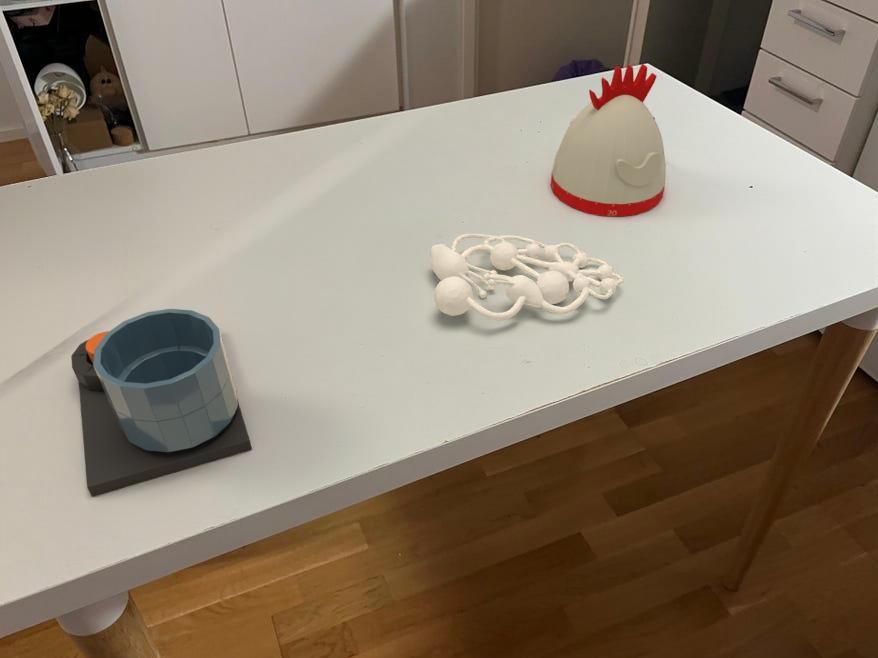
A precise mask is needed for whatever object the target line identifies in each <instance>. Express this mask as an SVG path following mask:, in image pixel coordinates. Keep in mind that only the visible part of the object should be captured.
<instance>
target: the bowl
mask: <svg viewBox="0 0 878 658" xmlns="http://www.w3.org/2000/svg"><path fill="white" fill-rule="evenodd" d="M108 331H109V332H108V333H106V334H105V336H104V337H103V338H102V340H101V341H100V343H99V344H98V345H97V347H96V348H95V351H94V361H93V366H94V368H95V371H96V373H97V375H98V377H99V380H100V382H101V384H102V387H103V389H104V391H105V394H106V396H107V398H108V400H109V403H110V405H111V407H112V410H113V412H114V414H115V417H116V419H117V421H118V423H119V426H120V428H121V430H122V431H123V433H124V435H125V436H126V438H127V439H128V441H129V442H131V443H133V444H135V445H137V446H139V447H141V448H143V449H145V450H147V451H159V452H173V451H178V450H183V449H188V448H192V447H195V446H197V445H199V444H201V443H203V442H205V441H207V440H209V439H211V438H213V437H214V436H216V435H217V434H218V433H219V432H220V431H222V430H223V429H224V428H225V427H226V426H227V425H228V424H229V423H230V422H231V420H232V418H233V416H234V413H235V411H236V409H237V407H238V403H239V402H238V403H237V399H238V394H237V390H236V385H235V383H234V378H233V374H232V371H231V367H230V363H229V360H228V356H227V355H228V354H227V351H226V348H225V345H224V340H223V338H222V334H221V329H220V328H219V327H218V325H217V324H216V323H215V322H214V321H213V320H212V319H211V318H210V316H207V315H205V314H202V313H200V312H197V311H195V310H192V309H181V308H179V309H178V308H165V309H159V310H151V311H147V312H143V313H141V314H139V315H136V316H134V317H131V318H128V319H126V320H123V321H121V322H120V323H119V324H118V325H116V326H115V327H113V328H112V329H110V330H108Z"/></svg>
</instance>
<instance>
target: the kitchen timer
mask: <svg viewBox="0 0 878 658" xmlns="http://www.w3.org/2000/svg"><path fill="white" fill-rule="evenodd" d="M647 75H648V66H647V65H645V64H644V63H641V64H640V67H639V69H638V72H637V73H636V76H635V77H634V67H633V66H632V65H631V64H629V63H627V65H626V68H625V72H624V75H623V71H622V68H621V67H619V66H618V65H616V66H615V68H614V70H613V75H612V78H611V82H610V83H609V81H608V80H607V79H606V78H605V77H601V79H600V80H601V81H600V82H601V83H600V84H601V95H600V96H597V95H596V93H595V92H594V91H593V90H591V89H589V90H588V93H589V98H590V101H591V102H589V103H588V104H586V106H584V108H583V109H581V111H579V113H578V114H577V115H576V116H575V117H574V118H573V119H571V120H570V122H569V126H567V127H568V128H567V129H566V131H565V133H564V135H563V138H562V139H561V142H560V144H559V146H558V149H557V151H556V154H555V157H554V161H553V165H552V169H551V177H550V187H551V190H552V193H553V194H554V195H555V196H556V198H557V199H559V200H560V202H561V203H563V204H565V205H567V206H569V207H570V208H572V209H575V210H577V211H581V212H583V213H586V214H589V215H590V214H591V215H595V216H600V217H601V216H602V217H618V218H619V217H628V216H636V215H639V214H643V213H646V212H649V211H650V210H652V209H654V208H655V207H657V206H658V205H659V204H660V202H661V200H662V199H663V197H664V192H665V188H666V181H667V179H666V178H667V177H666V175H667V174H666V167H667V166H666V165H667V164H666V155H665V147H664V141H663V137H662V134H661V130H660V128H659V125H658V123H657V121H656V118H655V116H654V115H653V114H652V112H651V111H650V110H649V108H648V107H647V105H646V104H644V102H645V100H646V98H647V96H648V94H649V93H650V91H651V90H652V88H653V86H654V84H655V83H656V82H655V81H656V80H657V74H655V73H654V72H651V73H650V74H649V76H648V77H647Z"/></svg>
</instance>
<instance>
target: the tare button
mask: <svg viewBox="0 0 878 658" xmlns="http://www.w3.org/2000/svg"><path fill="white" fill-rule="evenodd" d="M109 331H110V330H108V331H102V332H99V333H96V334H94V335H93V336H91V337H90V338H88V339H89V340H88V339H87V340H88V341H87V340H86V341H87V343H86V350H87V352H88V354H89V357H90V359H91V361H92V363H93V361H94V351H95V348H96V347H97V345H98V344H99V343H100V341H101V340H102V338H103V337H104V336H105V334H106V333H108V332H109Z"/></svg>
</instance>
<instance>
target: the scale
mask: <svg viewBox="0 0 878 658" xmlns="http://www.w3.org/2000/svg"><path fill="white" fill-rule="evenodd" d="M89 339H90V338H88V339H86V340H85V341H83V342H81V343H80V344H79V345H78V346H77V348H76V349H75V350H74V351H73V353H72V355H71V358H70V359H71V368H72V370H73V372H74V375H75V377H76V380H77V381H78V393H79V400H80V401H79V404H80V405H79V406H80V415H81V416H80V418H81V428H82V429H81V430H82V440H83V441H82V442H83V453H84V463H85V464H84V466H85V477H86V488H87V490H88V492H89V494H90V496H91V497H97V496H100V495H103V494H107V493H111V492H114V491H117V490H120V489H124V488H127V487H131V486H134V485H137V484H141V483H144V482H147V481H151V480H155V479H159V478H160V477H165V476H168V475H171V474H174V473H175V474H176V473H178V472H182V471H185V470H189V469H192V468H195V467H200V466H201V465H205V464H208V463H213V462H216V461H218V460H222V459H226V458H229V457H232V456H236V455H239V454H242V453H246V452H249V451H252V450H253V447H252V444H251V443H252V442H251V440H250V436H249V433H248V430H247V427H246V423H245V420H244V416H243V413H242V410H241V406H240V403H239V399H238V398H237V403H238V407H237V409H236V411H235V413H234V416H233V418H232V420H231V422H230V423H229V424H228V425H227V426H226V427H225V428H224V429H223V430H222V431H220V432H219V433H218V434H217V435H216V436H214V437H213V438H211V439H209V440H207V441H205V442H203V443H201V444H199V445H197V446H195V447H192V448H188V449H183V450H178V451H173V452H159V451H147V450H145V449H143V448H141V447H139V446H137V445H135V444H133V443H131V442H129V441H128V439H127V438H126V436H125V435H124V433H123V431H122V430H121V428H120V426H119V423H118V421H117V419H116V417H115V414H114V412H113V410H112V407H111V405H110V403H109V400H108V398H107V396H106V394H105V391H104V389H103V387H102V384H101V382H100V380H99V377H98V375H97V373H96V371H95V368H94V366H93V363H92V361H91V359H90V357H89V354H88V352H87V350H86V343H87V341H88V340H89Z"/></svg>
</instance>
